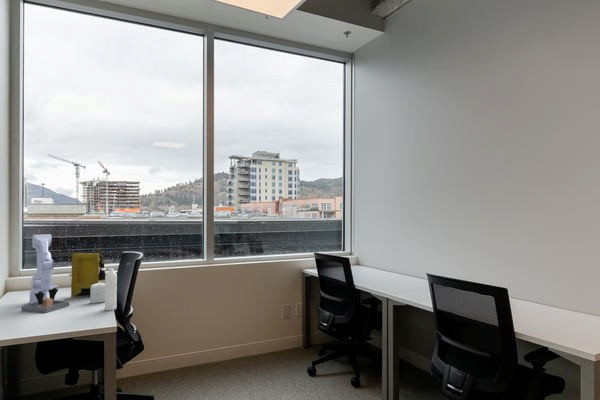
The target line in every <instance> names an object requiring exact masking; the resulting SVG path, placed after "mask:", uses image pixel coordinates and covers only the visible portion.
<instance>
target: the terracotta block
mask: <svg viewBox="0 0 600 400" xmlns="http://www.w3.org/2000/svg"><path fill="white" fill-rule="evenodd" d="M49 306H53V299H50V297H47V298H45V299H43V304H40V307H49Z"/></svg>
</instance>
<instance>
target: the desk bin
mask: <svg viewBox="0 0 600 400" xmlns="http://www.w3.org/2000/svg"><path fill="white" fill-rule="evenodd" d="M68 307H70V301H69V300H58V299H57V300H56V299H54V301H53V306H49V307H40V304H38V302H34V303H27V304H23V305H21V312H31V313H42V314H43V313H44V314H47V313H51V312H55V311H57V310H60V309H61V310H62V309H65V308H68Z"/></svg>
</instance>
